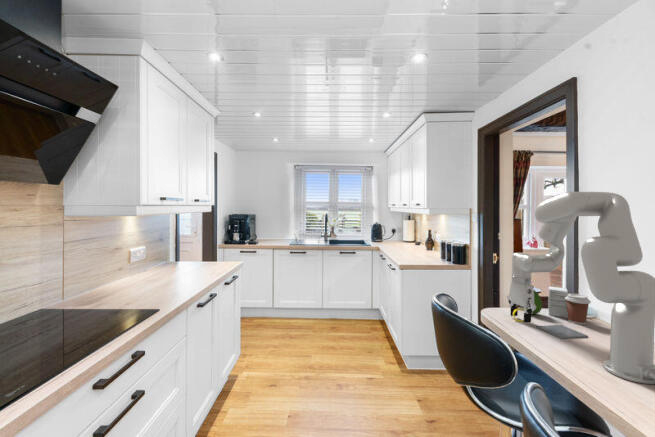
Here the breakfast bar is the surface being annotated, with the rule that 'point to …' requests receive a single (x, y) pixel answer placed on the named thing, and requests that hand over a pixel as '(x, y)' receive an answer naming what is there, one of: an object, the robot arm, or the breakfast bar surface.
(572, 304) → the coffee cup
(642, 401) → the breakfast bar surface
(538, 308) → the avocado
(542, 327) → the slate coaster
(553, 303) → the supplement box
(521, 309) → the watch
